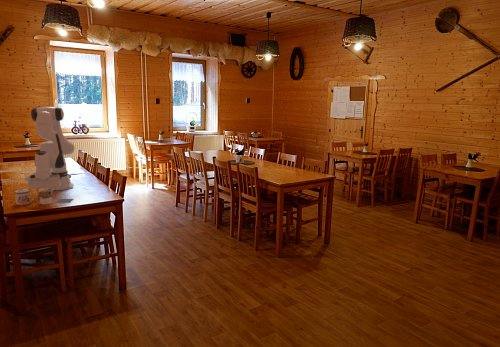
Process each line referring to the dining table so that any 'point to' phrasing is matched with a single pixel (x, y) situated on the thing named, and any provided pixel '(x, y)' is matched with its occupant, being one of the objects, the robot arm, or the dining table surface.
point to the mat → (64, 200)
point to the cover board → (44, 193)
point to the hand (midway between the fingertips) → (45, 194)
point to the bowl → (45, 200)
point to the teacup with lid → (22, 196)
